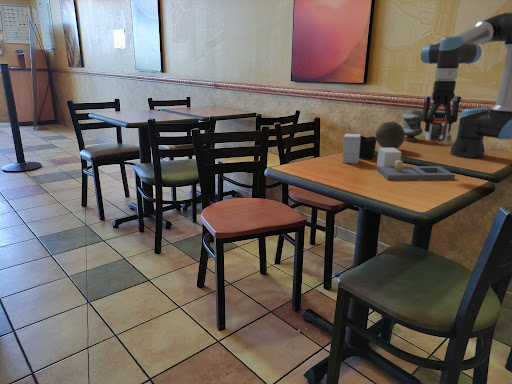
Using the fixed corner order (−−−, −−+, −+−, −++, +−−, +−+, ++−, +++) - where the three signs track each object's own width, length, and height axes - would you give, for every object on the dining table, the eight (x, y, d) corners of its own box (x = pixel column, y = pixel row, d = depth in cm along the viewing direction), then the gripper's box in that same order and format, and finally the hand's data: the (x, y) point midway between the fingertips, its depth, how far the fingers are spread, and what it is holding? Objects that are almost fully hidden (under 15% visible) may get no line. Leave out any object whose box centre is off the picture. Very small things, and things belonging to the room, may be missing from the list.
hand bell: (446, 145, 208) (451, 117, 202) (434, 143, 215) (438, 115, 210) (457, 144, 211) (462, 116, 205) (444, 141, 218) (449, 114, 213)
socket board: (439, 170, 161) (439, 166, 161) (454, 179, 149) (455, 174, 148) (409, 170, 161) (409, 166, 161) (421, 179, 149) (422, 174, 148)
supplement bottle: (445, 142, 147) (450, 113, 143) (429, 141, 148) (433, 113, 145) (441, 139, 153) (446, 111, 149) (426, 138, 154) (430, 111, 150)
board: (406, 170, 161) (408, 157, 159) (419, 179, 149) (421, 165, 147) (377, 170, 161) (378, 157, 159) (387, 179, 149) (388, 165, 147)
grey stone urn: (402, 137, 231) (406, 108, 225) (423, 139, 224) (427, 109, 218) (397, 140, 222) (400, 110, 216) (418, 143, 215) (422, 111, 209)
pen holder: (365, 160, 178) (367, 139, 175) (350, 156, 186) (352, 136, 182) (378, 157, 183) (380, 137, 180) (363, 154, 190) (365, 134, 187)
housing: (376, 164, 171) (378, 147, 168) (392, 164, 171) (394, 147, 168) (383, 170, 162) (385, 152, 159) (399, 170, 162) (401, 152, 159)
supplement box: (359, 160, 179) (361, 134, 175) (357, 164, 172) (360, 137, 168) (343, 159, 181) (345, 133, 177) (341, 162, 175) (343, 136, 170)
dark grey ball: (382, 146, 208) (385, 119, 203) (407, 149, 199) (410, 121, 194) (369, 150, 198) (372, 122, 193) (395, 154, 189) (399, 125, 184)
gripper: (424, 80, 139) (416, 141, 147) (475, 80, 139) (464, 141, 147) (416, 79, 146) (408, 137, 154) (464, 79, 146) (454, 137, 154)
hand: (435, 139), depth 150 cm, fingers closed on supplement bottle, 6 cm apart
